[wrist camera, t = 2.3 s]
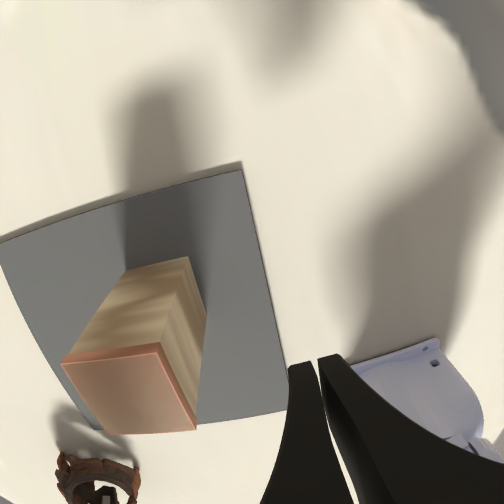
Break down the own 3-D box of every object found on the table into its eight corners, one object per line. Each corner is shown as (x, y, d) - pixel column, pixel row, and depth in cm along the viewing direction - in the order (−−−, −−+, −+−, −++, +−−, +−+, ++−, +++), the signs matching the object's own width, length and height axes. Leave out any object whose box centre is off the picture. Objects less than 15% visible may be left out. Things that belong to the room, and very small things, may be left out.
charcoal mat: (241, 169, 17) (241, 170, 17) (293, 404, 23) (293, 408, 23) (-4, 244, 17) (-7, 246, 17) (95, 426, 24) (93, 429, 23)
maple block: (188, 255, 18) (156, 352, 10) (208, 315, 20) (195, 430, 11) (124, 269, 18) (60, 363, 10) (147, 327, 20) (108, 434, 11)
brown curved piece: (42, 431, 25) (38, 476, 18) (119, 417, 29) (131, 460, 22) (82, 503, 26) (90, 547, 19) (149, 489, 30) (168, 532, 23)
